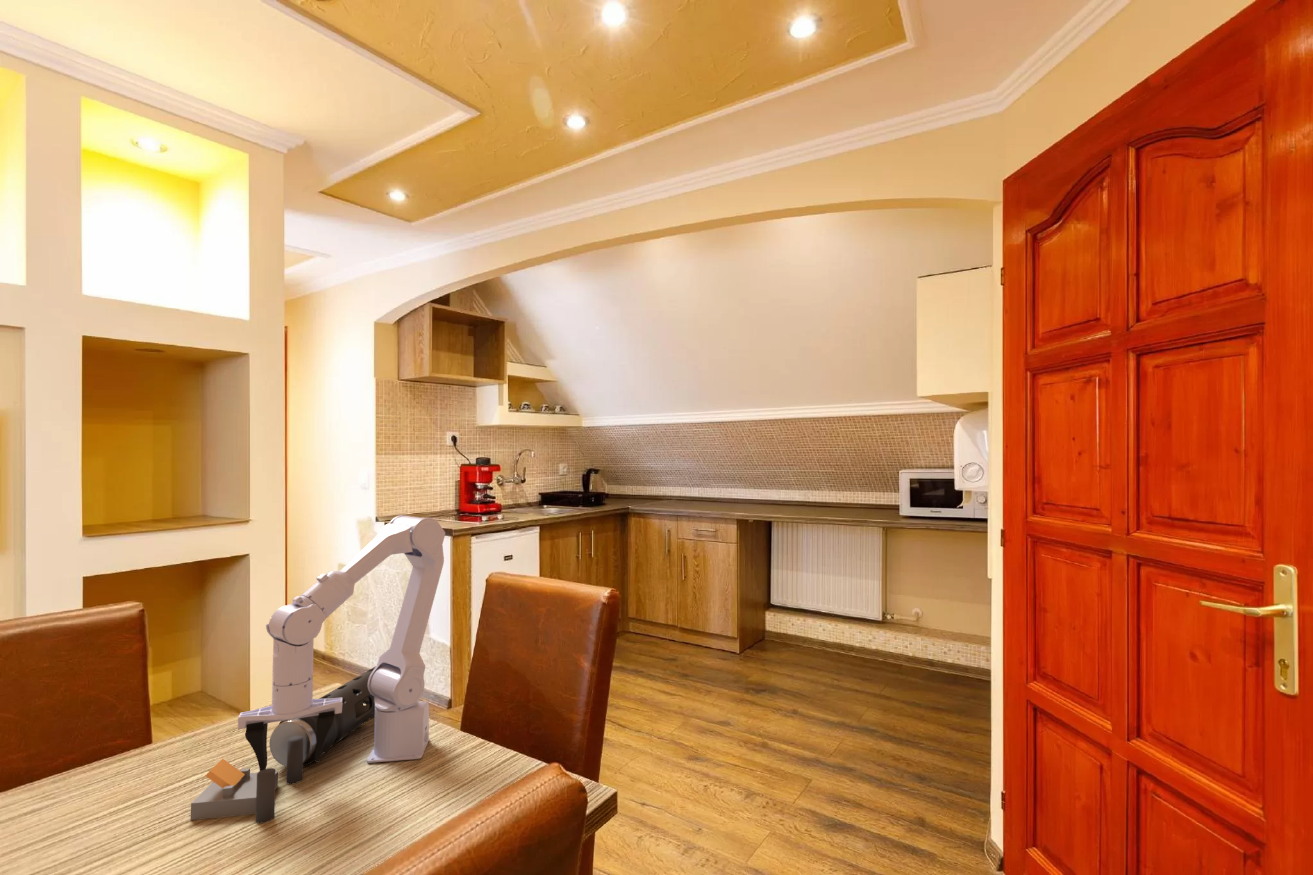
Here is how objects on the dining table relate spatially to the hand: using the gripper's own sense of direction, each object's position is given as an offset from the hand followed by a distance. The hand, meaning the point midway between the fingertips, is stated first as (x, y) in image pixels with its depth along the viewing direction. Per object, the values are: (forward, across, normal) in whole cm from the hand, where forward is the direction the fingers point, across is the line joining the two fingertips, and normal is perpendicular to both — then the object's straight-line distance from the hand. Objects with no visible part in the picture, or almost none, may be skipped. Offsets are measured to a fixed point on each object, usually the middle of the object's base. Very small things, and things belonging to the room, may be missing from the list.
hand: (291, 763), depth 98 cm
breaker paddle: (+2, +8, -2) cm, 8 cm away
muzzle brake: (+2, -2, -24) cm, 24 cm away
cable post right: (+5, 0, -6) cm, 8 cm away
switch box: (+5, +8, -2) cm, 10 cm away
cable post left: (+5, +3, +5) cm, 8 cm away
